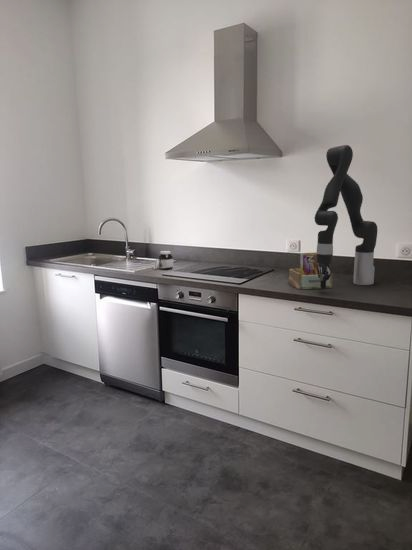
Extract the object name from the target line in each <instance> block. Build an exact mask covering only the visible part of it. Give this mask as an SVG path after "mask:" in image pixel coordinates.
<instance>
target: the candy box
mask: <svg viewBox="0 0 412 550" xmlns="http://www.w3.org/2000/svg"><path fill="white" fill-rule="evenodd" d="M316 255H317V251H316V252H301V253H300V259H299V260H300V264H299V265H300V266H299V269H300V274H301V276H303V275H318V273H317V269H316V267H319V263H317V262H316Z"/></svg>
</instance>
